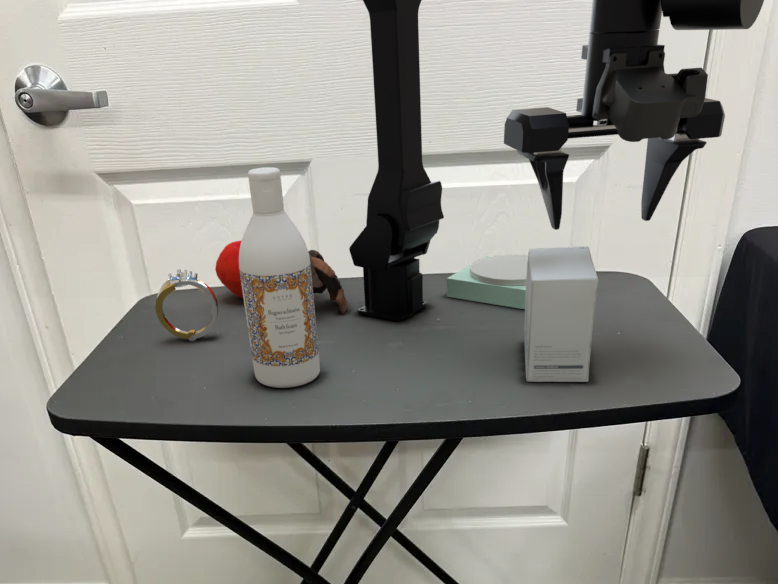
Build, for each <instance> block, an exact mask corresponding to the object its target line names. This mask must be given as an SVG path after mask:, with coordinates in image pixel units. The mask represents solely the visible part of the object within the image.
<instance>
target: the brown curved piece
mask: <svg viewBox="0 0 778 584" xmlns="http://www.w3.org/2000/svg"><path fill="white" fill-rule="evenodd" d="M308 253H309V257H310V263H311V274H312V284H313V295H314V294H323V293H324V292H325V291H327V293H328V295H329V300H330V301H331V302H336V304H337V305H339V311H340V313H341V314H345V313H346V312H347V309H348V301H347V299H346V296H345V290H344V289H343V286H342V285H341V281H340V280H339V277H338V275H337V274H336V271H335V270H334V269H333V268H332V267H331V266H330V265H329V264H328V263H327V262H326V261H325V259H324V256H323V255H322V254H321V253H320V252H319V251H318V250H315V249H309V250H308Z"/></svg>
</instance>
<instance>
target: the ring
mask: <svg viewBox="0 0 778 584" xmlns="http://www.w3.org/2000/svg"><path fill="white" fill-rule="evenodd" d="M167 275H168V277H169V278H168V279H166V280H165V281H164V282H163V283H162V284H161V286H160V288H159V290H158V292H157V296H156V300H155V304H154V307H155V314H156V316H157V319H158V321H159V322H160V324H161V325H162V327H163V328H164V329H165V330H166V331H167V332H169V333H170V334H172V335H173V336H175V337H178V338H180V339H186V340H189V341H190V342H195V341H196V340H197V339H200V338H202V337H204V336H206V335H207V334H208V333H210V331H211V330H212V329H213V328H214V326H215V324H216V322H217V320H218V316H219V303H218V299H217V296H216V294H215V292H214V290H212V288H211V287H210V286H209V285H208V284H206V283H205V282H203V281H202V280H200V279H198V272H194V275H193V271H192V270H189V273H188V270H187V269H184V271H181V269H179V268H178V269H176V274H175V275H172V273H171V272H170V273H168V274H167ZM186 286H192V287H194V288H197V289H198V290H200V291H201V292H203V294H205V296H206V297H207V299H208V301H209V303H210V307H211V317H210V320H209V322H208V323H207V324H206V325H205V326H204V327H203V328H201V329H200V330H199V329H198V330H195V329H190V330H189V331H185V330H181V329H179V328H177V327H176V326H174V325H173V324H172V323H171V322H170V321H169V320H168V319H167V317H166V315H165V313H164V307H163V306H164V301H165V299H166V298H167V296H169V295H170V294H171V293H172V292H174V291H176V288H183V287H186Z"/></svg>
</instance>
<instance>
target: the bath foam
mask: <svg viewBox="0 0 778 584" xmlns="http://www.w3.org/2000/svg"><path fill="white" fill-rule="evenodd" d="M247 179H248V184H249V193H250V200H251V207H252V208H251V209H252V214H251V217H250V219H249V220H248V221H249V222H248V224H247V226H246V228H245V230H244V232H243V236H242V238H241V240H240V241H241V244H240V250H239V271H240V278H241V285H242V292H243V298H242V299H243V305H244V312H245V318H246V319H245V320H246V327H247V332H248V339H249V346H250V353H251V354H250V355H251V359H252V366H253V373H254V376H255V379H256V380H257V381H258V382H259V383H260V384H262V385H264V386H267V387H271V388H277V389H285V388H286V389H288V388H296V387H300V386H304V385H306V384H308V383H311V382H312V381H314V380H316V378H318V376H319V374H320V372H321V363H320V353H319V350H320V349H319V340H318V339H319V338H318V329H317V319H316V317H317V316H316V309H315V308H316V307H315V297H314V294H313V284H312V274H311V263H310V257H309V253H308V251H309V250H308V246H307V243H306V241H305V239H304V237H303V235H302V233H301V232H300V230H299V228H297V226H296V225H295V223H294V222H293V221H292V219H291V218H290V216H289V215H288V214H287V213H286V211H285V207H284V196H283V187H282V177H281V170H280V168H278V167H272V166H271V167H270V166H267V167H257V168H252V169H250V170H248V172H247Z"/></svg>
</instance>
